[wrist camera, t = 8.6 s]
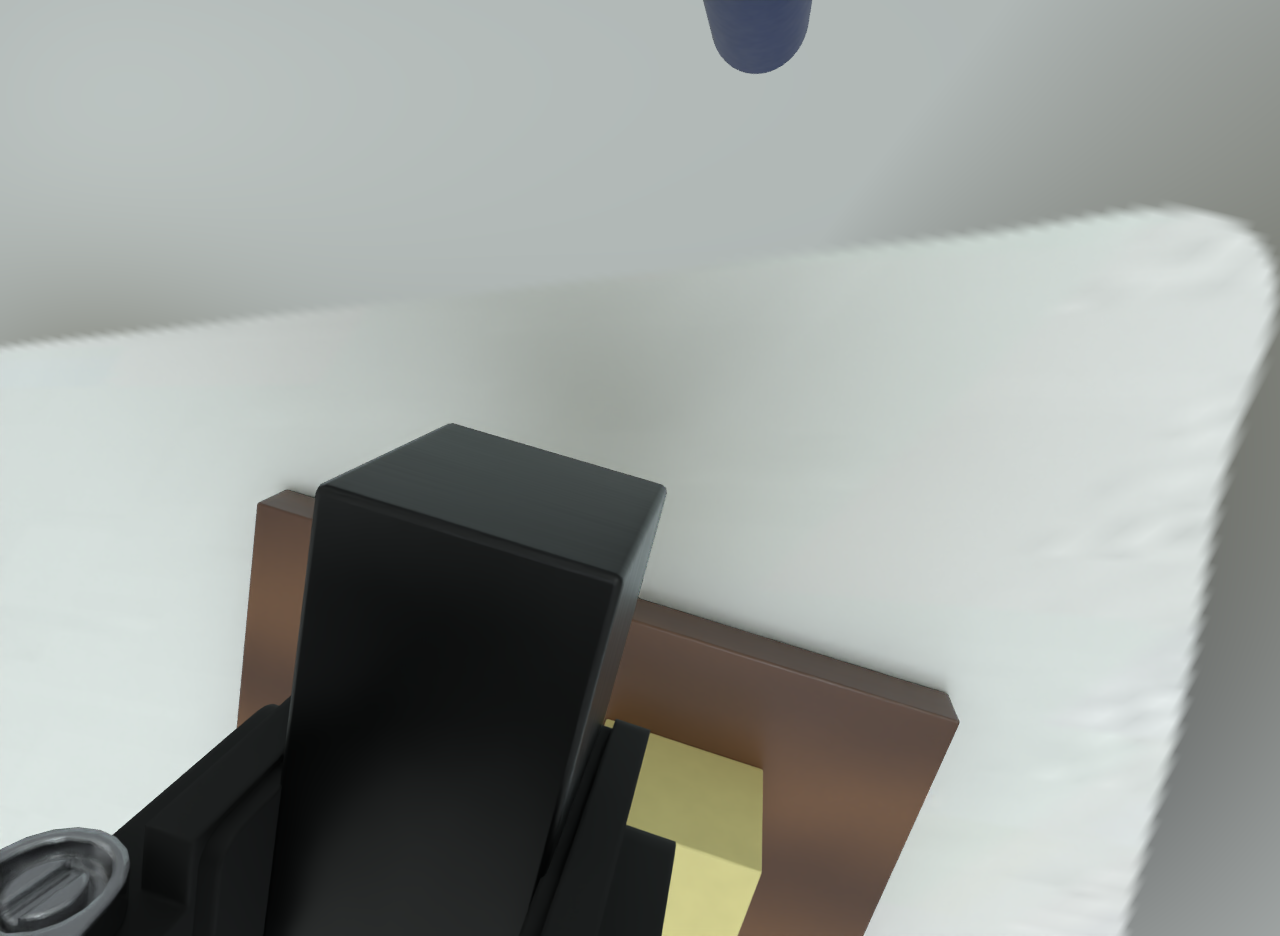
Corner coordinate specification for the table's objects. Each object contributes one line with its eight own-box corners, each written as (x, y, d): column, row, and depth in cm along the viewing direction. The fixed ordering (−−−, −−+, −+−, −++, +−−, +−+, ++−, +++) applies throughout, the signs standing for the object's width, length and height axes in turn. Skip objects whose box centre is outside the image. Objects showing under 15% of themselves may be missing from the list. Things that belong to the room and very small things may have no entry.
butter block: (606, 717, 23) (574, 808, 19) (763, 769, 22) (762, 872, 18) (559, 887, 25) (521, 1000, 21) (702, 938, 24) (689, 1062, 20)
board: (286, 488, 24) (256, 502, 23) (948, 693, 22) (961, 722, 21) (252, 818, 28) (224, 848, 27) (806, 1016, 26) (808, 1060, 25)
